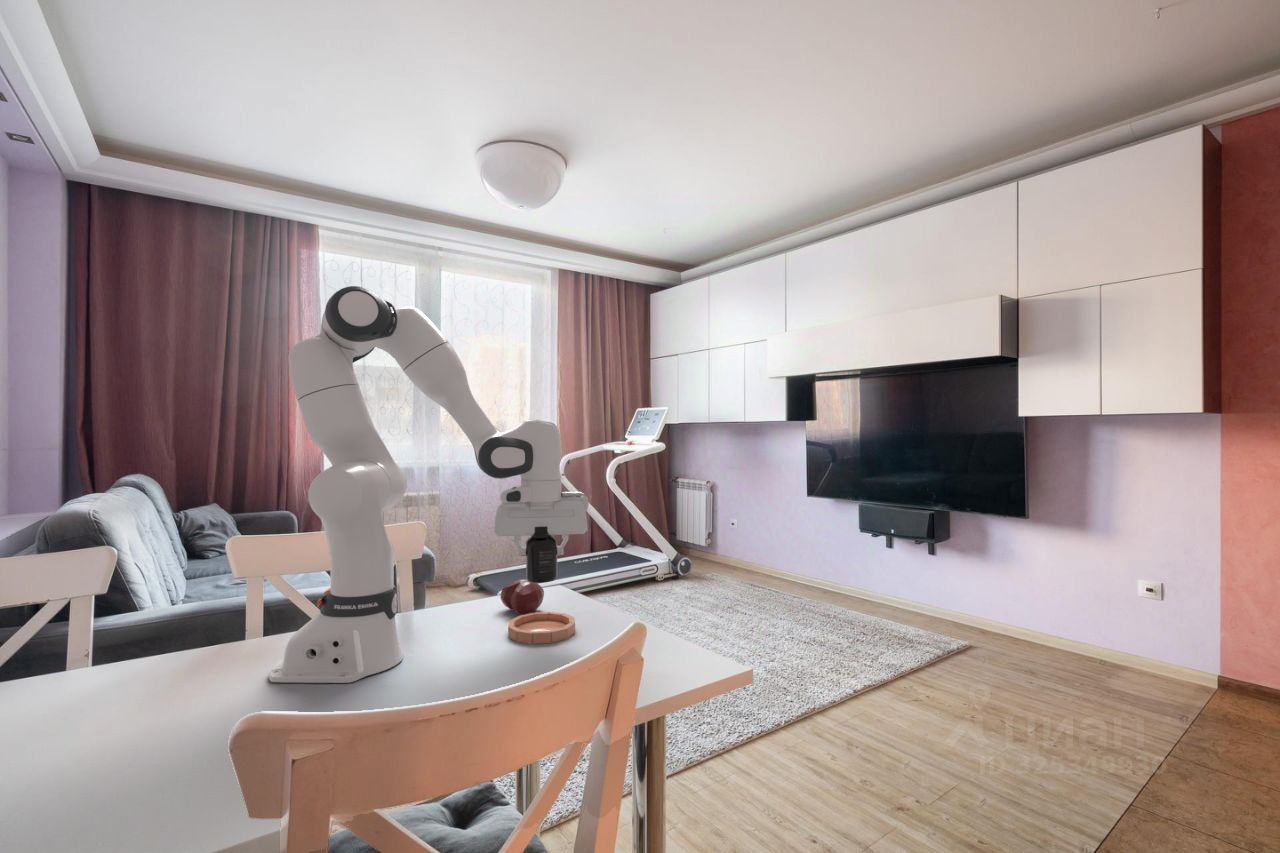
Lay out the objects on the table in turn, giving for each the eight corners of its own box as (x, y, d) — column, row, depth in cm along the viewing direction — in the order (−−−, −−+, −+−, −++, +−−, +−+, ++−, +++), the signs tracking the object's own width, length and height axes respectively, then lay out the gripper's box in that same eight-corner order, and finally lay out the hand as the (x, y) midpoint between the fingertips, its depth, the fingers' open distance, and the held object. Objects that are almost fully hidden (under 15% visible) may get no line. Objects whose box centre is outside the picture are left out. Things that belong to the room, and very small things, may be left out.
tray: (506, 645, 125) (506, 635, 125) (510, 623, 139) (510, 613, 139) (576, 641, 127) (576, 630, 127) (572, 619, 142) (572, 610, 142)
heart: (534, 598, 157) (498, 610, 151) (530, 570, 156) (494, 581, 150) (556, 611, 147) (519, 624, 141) (552, 580, 146) (515, 592, 140)
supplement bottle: (560, 576, 136) (560, 522, 136) (553, 583, 130) (553, 528, 130) (530, 575, 137) (530, 522, 137) (522, 583, 130) (521, 527, 130)
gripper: (587, 490, 138) (587, 550, 138) (495, 491, 135) (495, 553, 135) (589, 493, 132) (589, 556, 132) (493, 494, 129) (493, 559, 128)
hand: (541, 555), depth 133 cm, fingers closed on supplement bottle, 7 cm apart
